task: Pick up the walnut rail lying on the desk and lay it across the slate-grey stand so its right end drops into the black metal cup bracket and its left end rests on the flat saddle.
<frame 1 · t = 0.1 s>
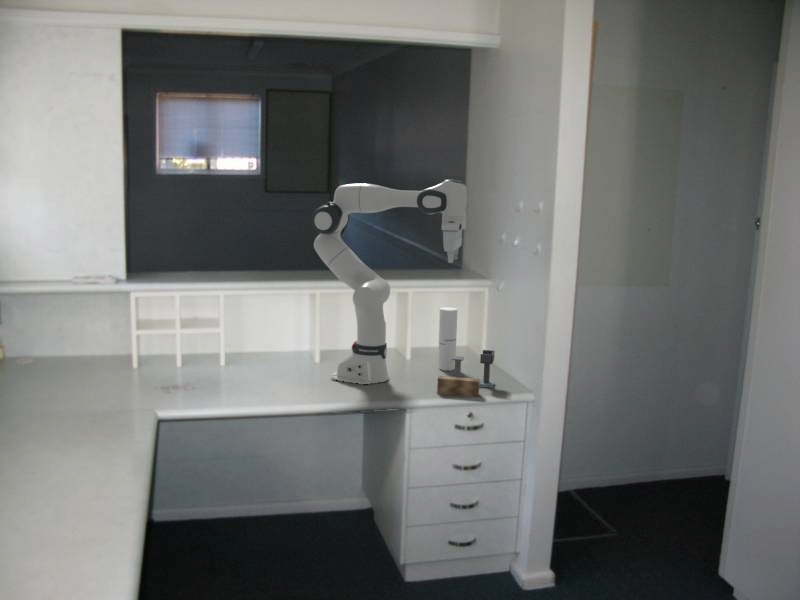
hand: (452, 261, 297), 48 cm above the worktop, tool pointing down, fingers open, 8 cm apart
cylindrical container: (446, 368, 330), on the worktop
stand: (470, 383, 308), on the worktop
rail: (458, 394, 295), on the worktop
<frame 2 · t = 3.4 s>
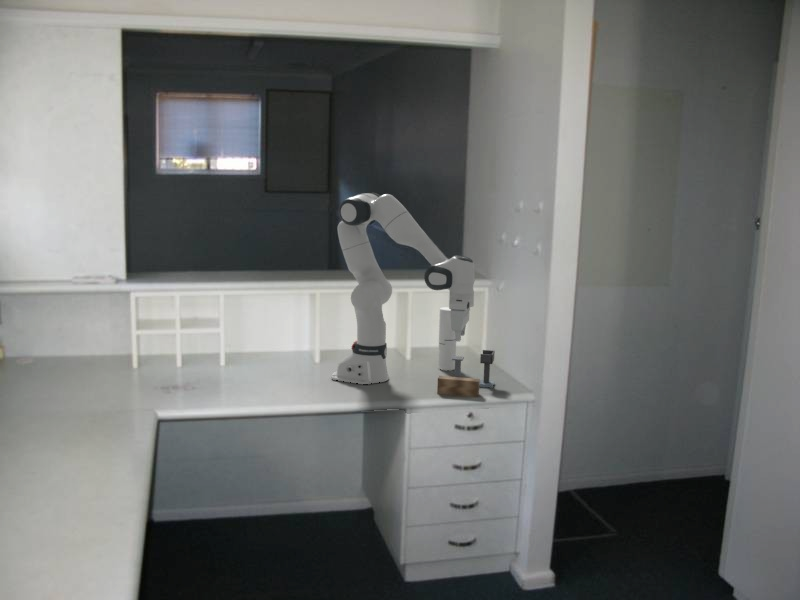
hand: (460, 338, 291), 21 cm above the worktop, tool pointing down, fingers open, 8 cm apart
nothing on the worktop moved.
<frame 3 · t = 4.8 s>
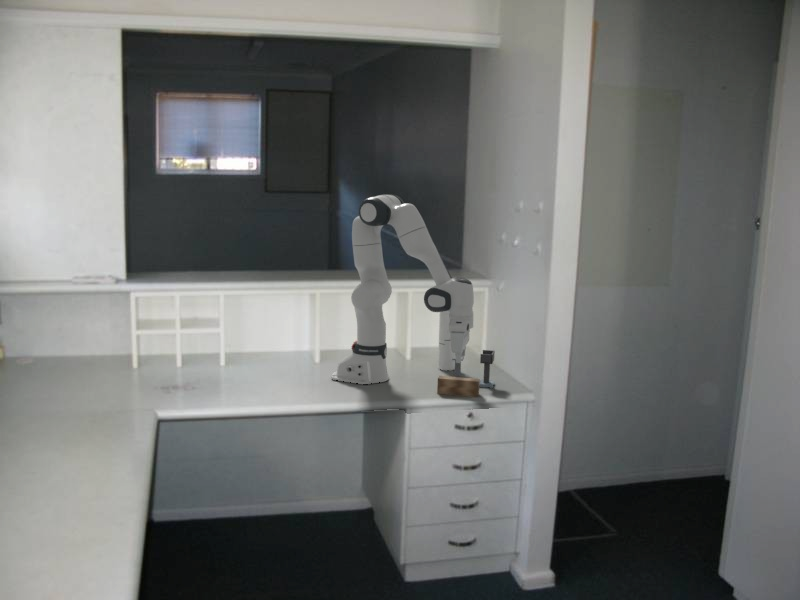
hand: (460, 359, 292), 13 cm above the worktop, tool pointing down, fingers open, 8 cm apart
nothing on the worktop moved.
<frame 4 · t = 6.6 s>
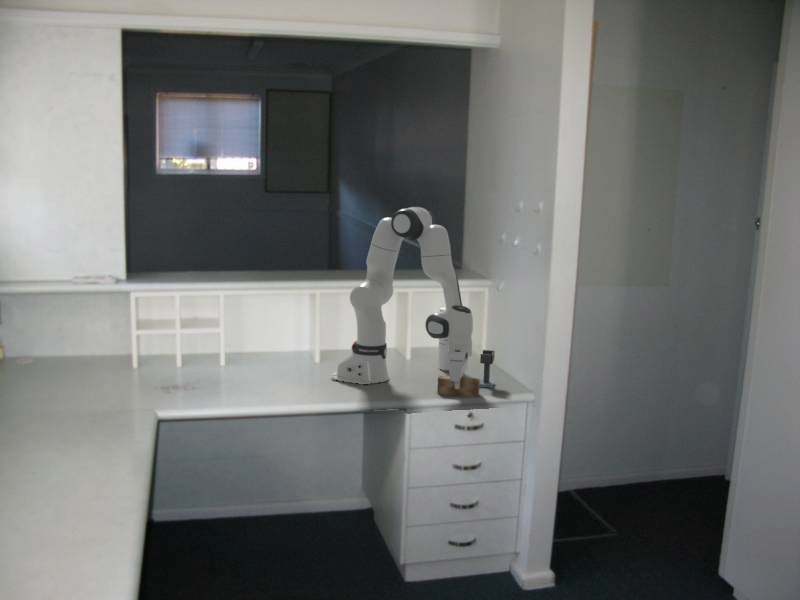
hand: (458, 386, 295), 3 cm above the worktop, tool pointing down, fingers closed on rail, 4 cm apart
rail: (458, 394, 295), on the worktop, touching gripper
everything else where it was.
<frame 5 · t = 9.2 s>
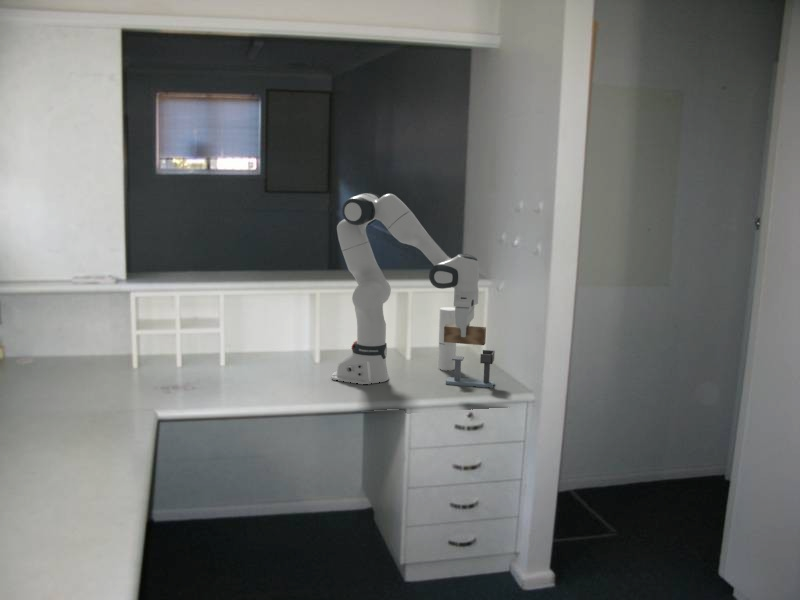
hand: (464, 335, 296), 21 cm above the worktop, tool pointing down, fingers closed on rail, 4 cm apart
rail: (464, 342, 296), point 18 cm above the worktop, touching gripper
everything else where it was.
when the fingers open (14 cm above the worktop, at t = 11.3 s): rail stays where it is, resting on stand.
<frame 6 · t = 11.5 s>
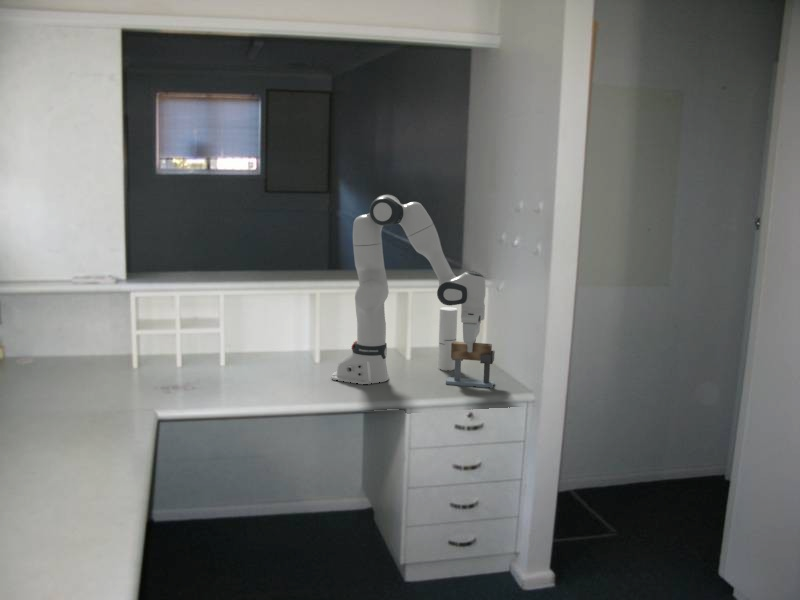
hand: (471, 349, 305), 14 cm above the worktop, tool pointing down, fingers open, 6 cm apart
rail: (471, 358, 306), point 10 cm above the worktop, touching stand
everything else where it was.
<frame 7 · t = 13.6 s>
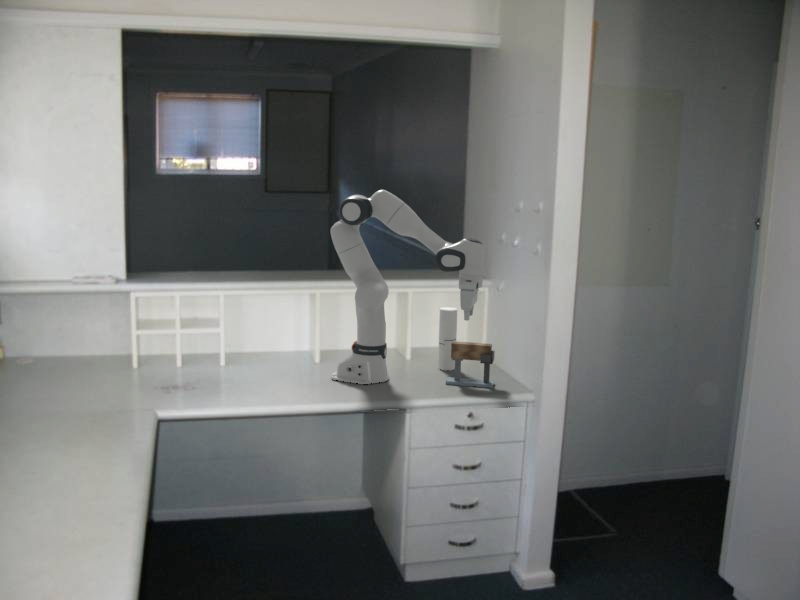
hand: (468, 317, 303), 26 cm above the worktop, tool pointing down, fingers open, 8 cm apart
nothing on the worktop moved.
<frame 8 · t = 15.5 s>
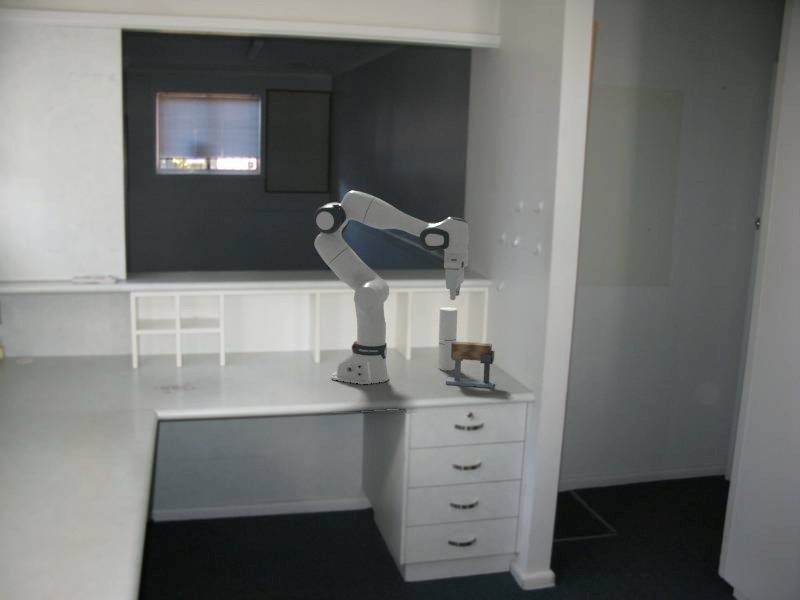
hand: (454, 297, 299), 34 cm above the worktop, tool pointing down, fingers open, 8 cm apart
nothing on the worktop moved.
at the end: rail 1.1 cm from the target spot on the stand, point 10.0 cm above the stand's base; rail tilted 0°; the gripper is holding nothing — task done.
